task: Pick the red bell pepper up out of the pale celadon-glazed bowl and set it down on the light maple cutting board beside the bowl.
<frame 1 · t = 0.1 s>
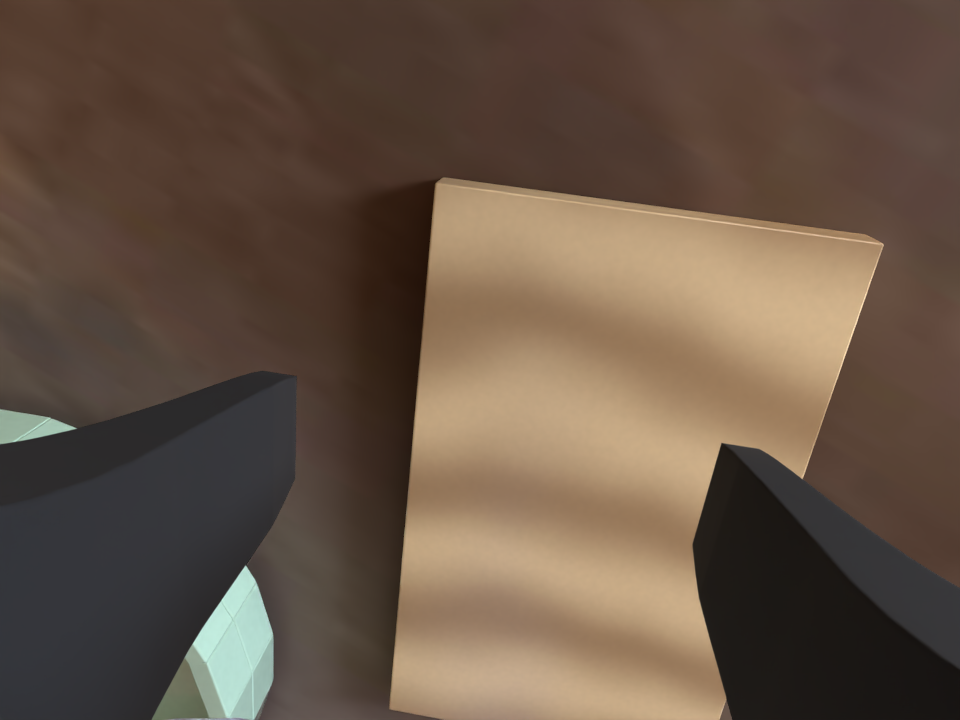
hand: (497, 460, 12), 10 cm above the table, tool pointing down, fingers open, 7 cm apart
cutting board: (588, 500, 23), on the table
bowl: (61, 604, 28), on the table
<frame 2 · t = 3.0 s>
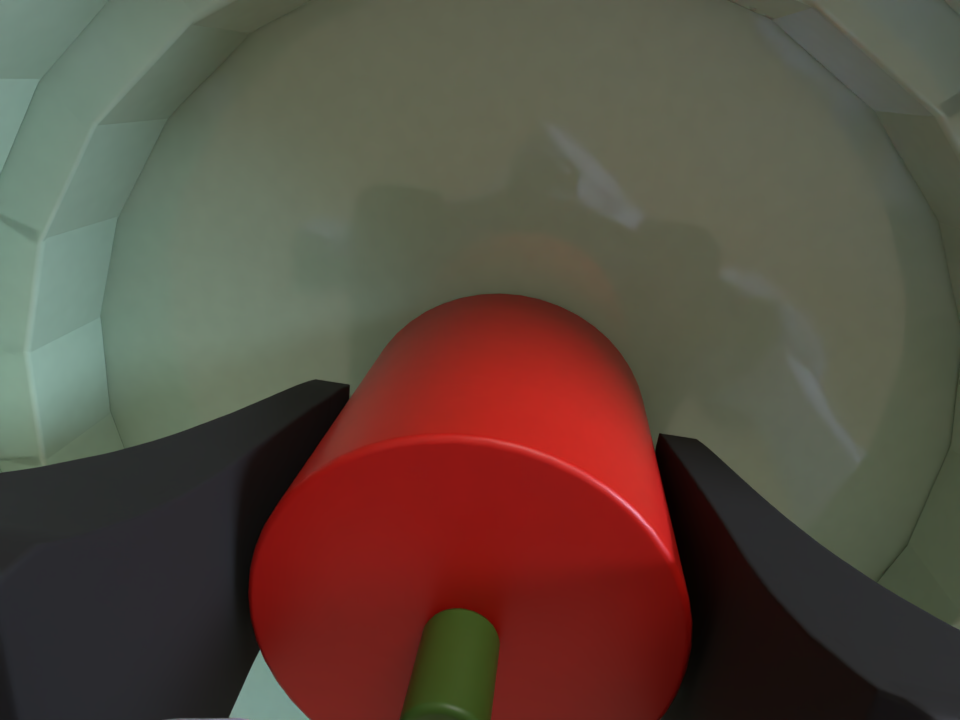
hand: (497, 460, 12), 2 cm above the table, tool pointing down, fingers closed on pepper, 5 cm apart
bowl: (504, 413, 13), on the table
pepper: (501, 427, 13), point 1 cm above the table, touching bowl, gripper
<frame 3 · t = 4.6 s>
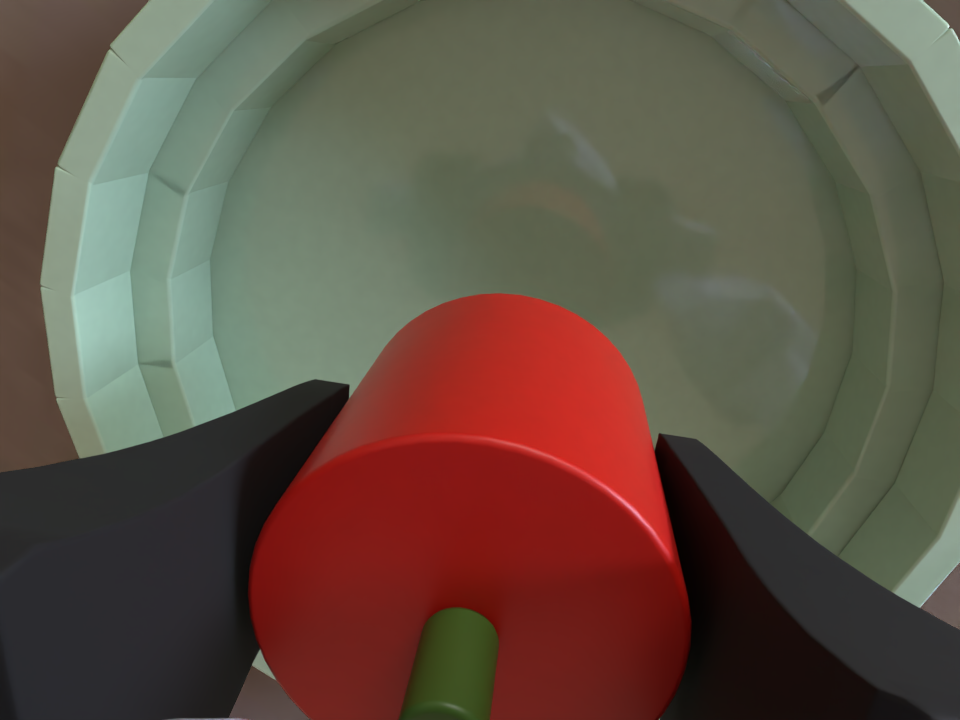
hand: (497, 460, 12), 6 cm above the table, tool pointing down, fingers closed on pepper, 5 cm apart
bowl: (517, 335, 17), on the table
pepper: (501, 427, 13), point 5 cm above the table, touching gripper
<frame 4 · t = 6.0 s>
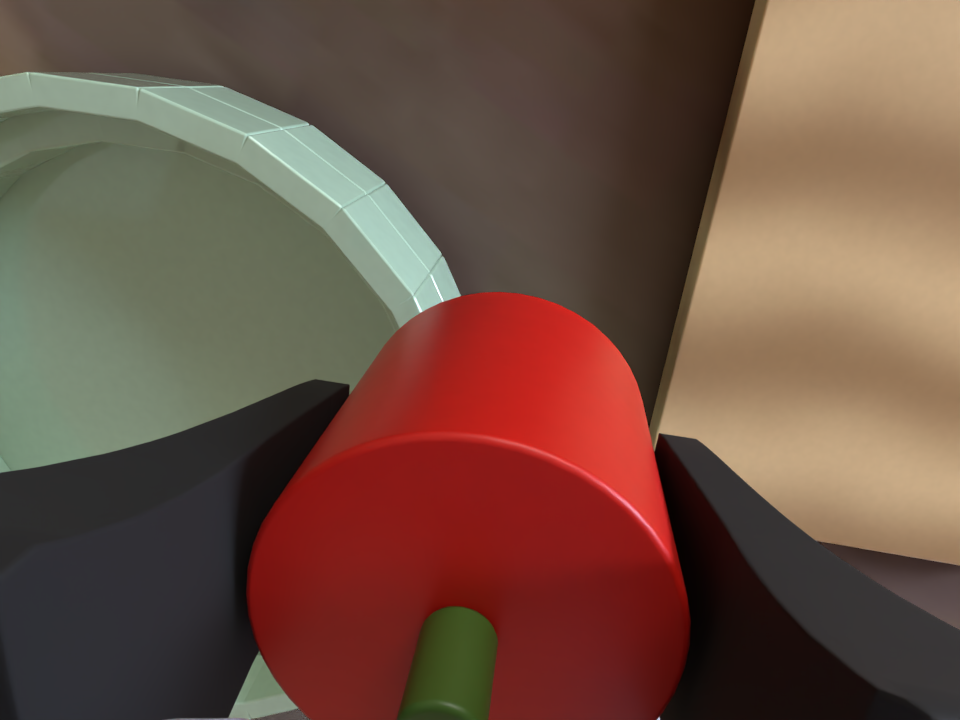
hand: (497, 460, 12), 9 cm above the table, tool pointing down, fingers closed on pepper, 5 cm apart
cutting board: (955, 194, 17), on the table
bowl: (202, 388, 22), on the table
pepper: (500, 426, 13), point 8 cm above the table, touching gripper
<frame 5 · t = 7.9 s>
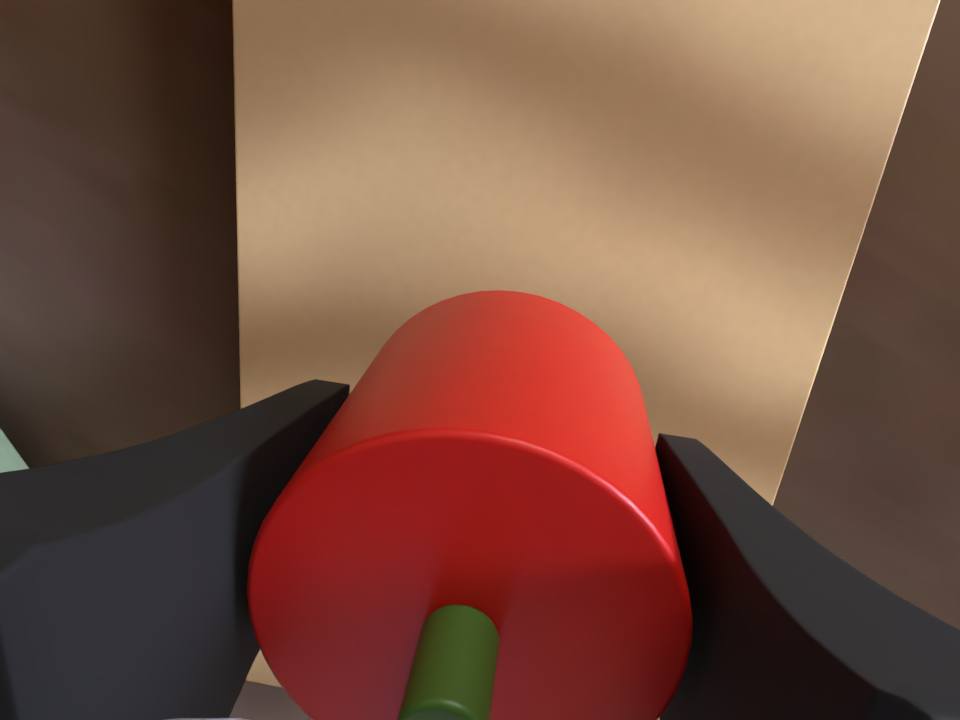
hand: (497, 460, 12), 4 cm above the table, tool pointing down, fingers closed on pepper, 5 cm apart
cutting board: (515, 363, 16), on the table
pepper: (501, 424, 13), point 3 cm above the table, touching gripper
when the fingers open (2 cm above the table, at t = 9.1 s): pepper stays where it is, resting on cutting board.
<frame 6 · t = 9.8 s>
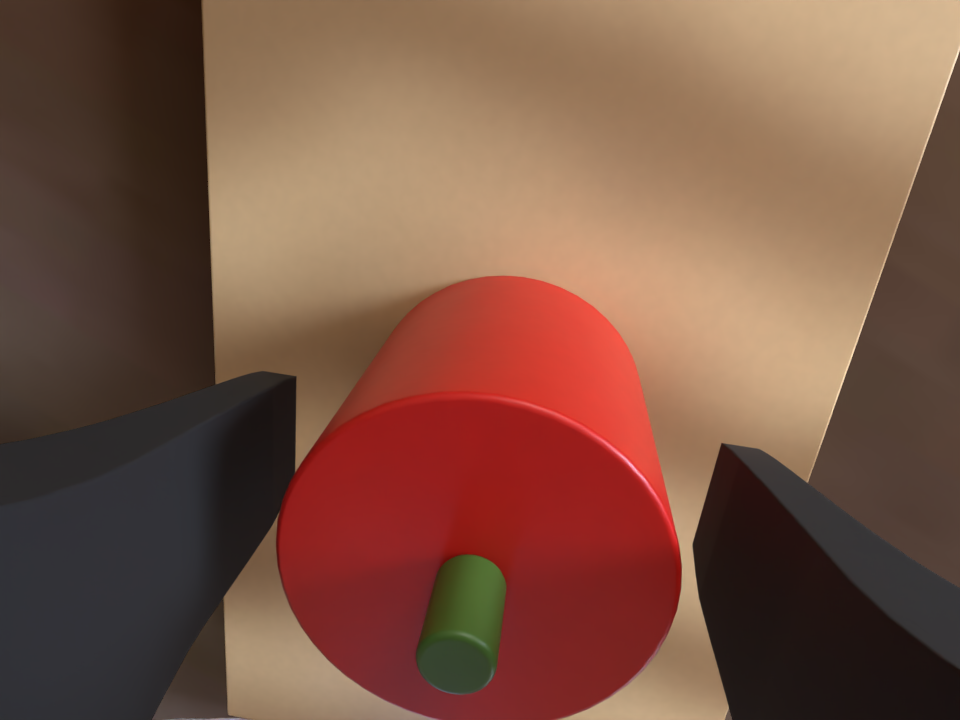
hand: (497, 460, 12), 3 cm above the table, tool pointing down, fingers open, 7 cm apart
cutting board: (511, 382, 15), on the table
pepper: (505, 403, 14), point 1 cm above the table, touching cutting board
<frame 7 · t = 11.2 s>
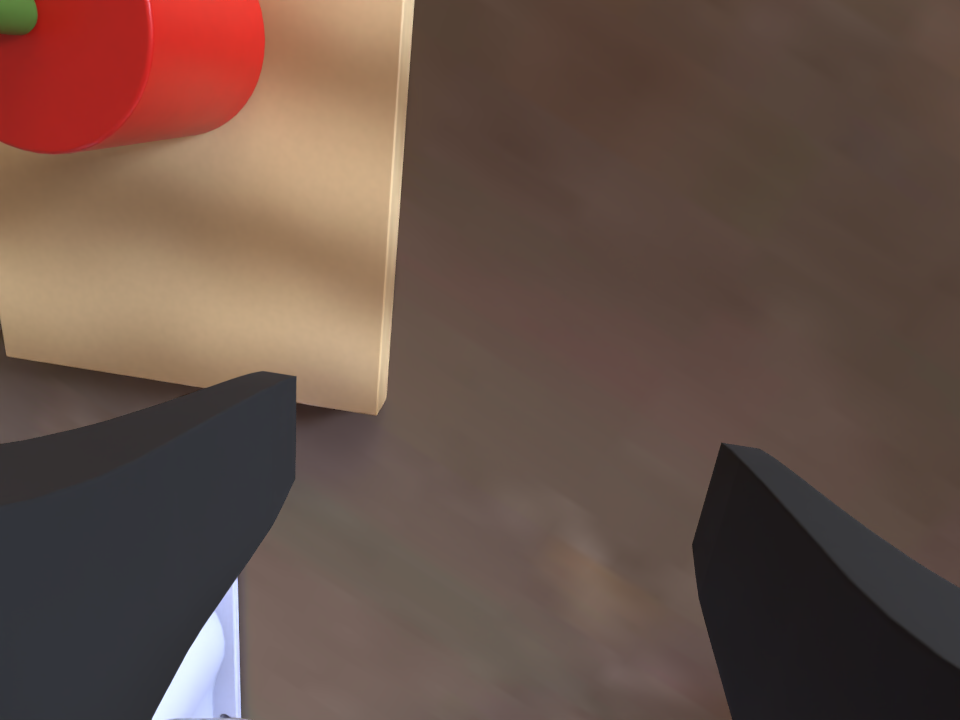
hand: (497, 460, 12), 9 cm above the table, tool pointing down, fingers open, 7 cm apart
cutting board: (192, 34, 19), on the table
pepper: (167, 28, 18), point 1 cm above the table, touching cutting board
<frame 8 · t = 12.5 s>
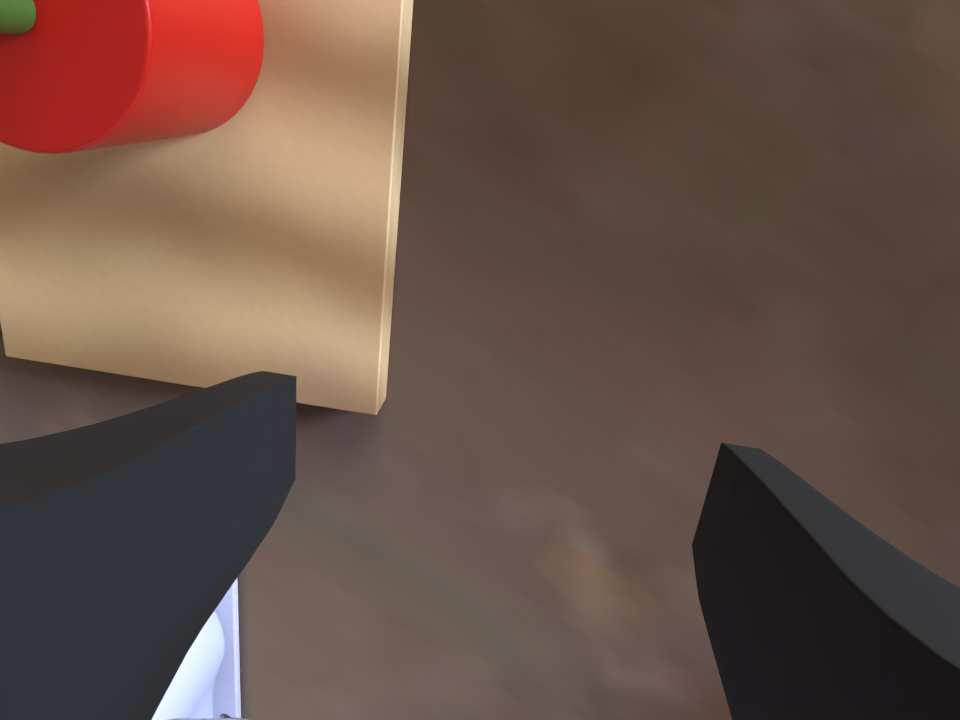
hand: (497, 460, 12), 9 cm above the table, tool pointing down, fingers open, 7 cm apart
cutting board: (191, 34, 19), on the table
pepper: (166, 27, 18), point 1 cm above the table, touching cutting board
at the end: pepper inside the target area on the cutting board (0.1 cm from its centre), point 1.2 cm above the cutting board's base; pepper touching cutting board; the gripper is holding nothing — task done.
